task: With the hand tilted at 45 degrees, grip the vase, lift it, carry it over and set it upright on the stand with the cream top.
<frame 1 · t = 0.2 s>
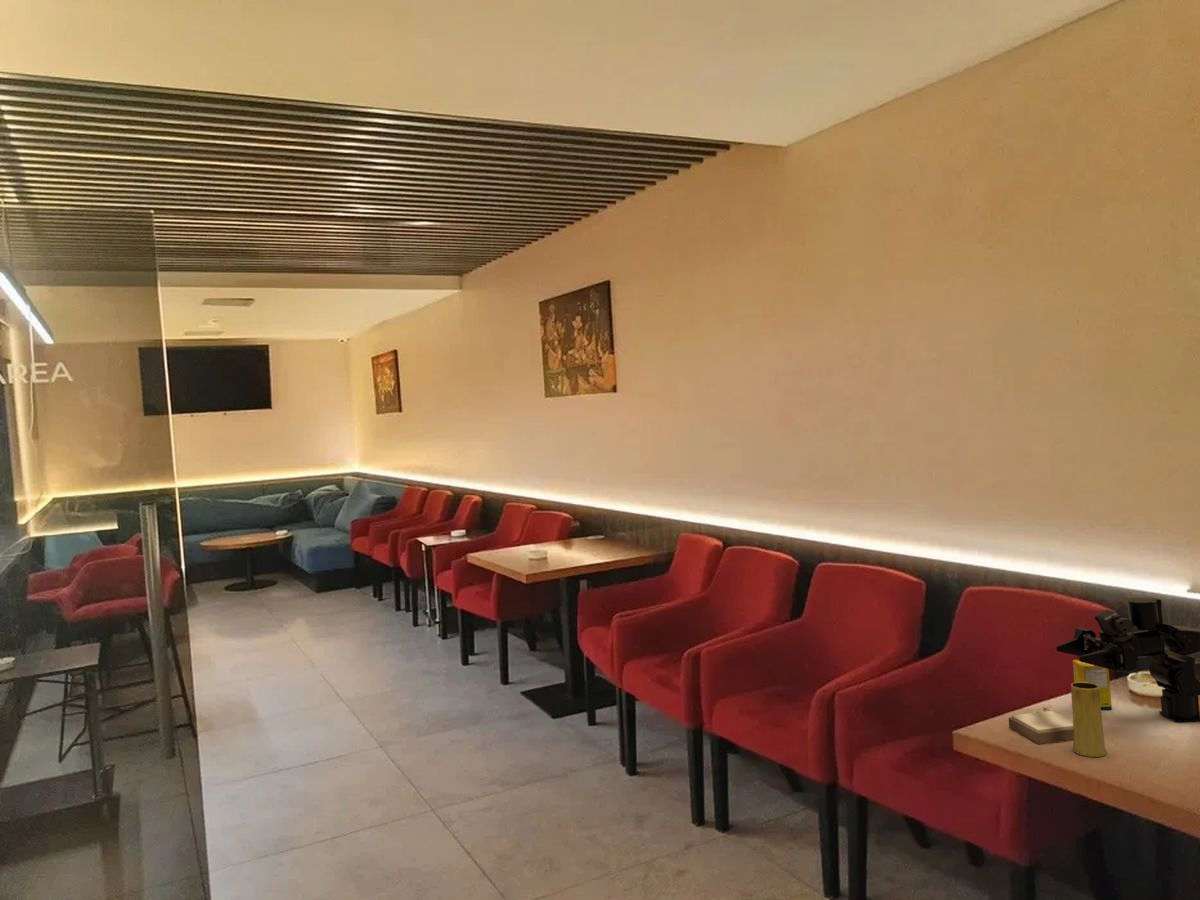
hand: (1067, 653, 194), 17 cm above the table, tool horizontal, fingers open, 9 cm apart
vase: (1089, 753, 180), on the table
stand: (1046, 733, 192), on the table
supplement box: (1093, 707, 206), on the table
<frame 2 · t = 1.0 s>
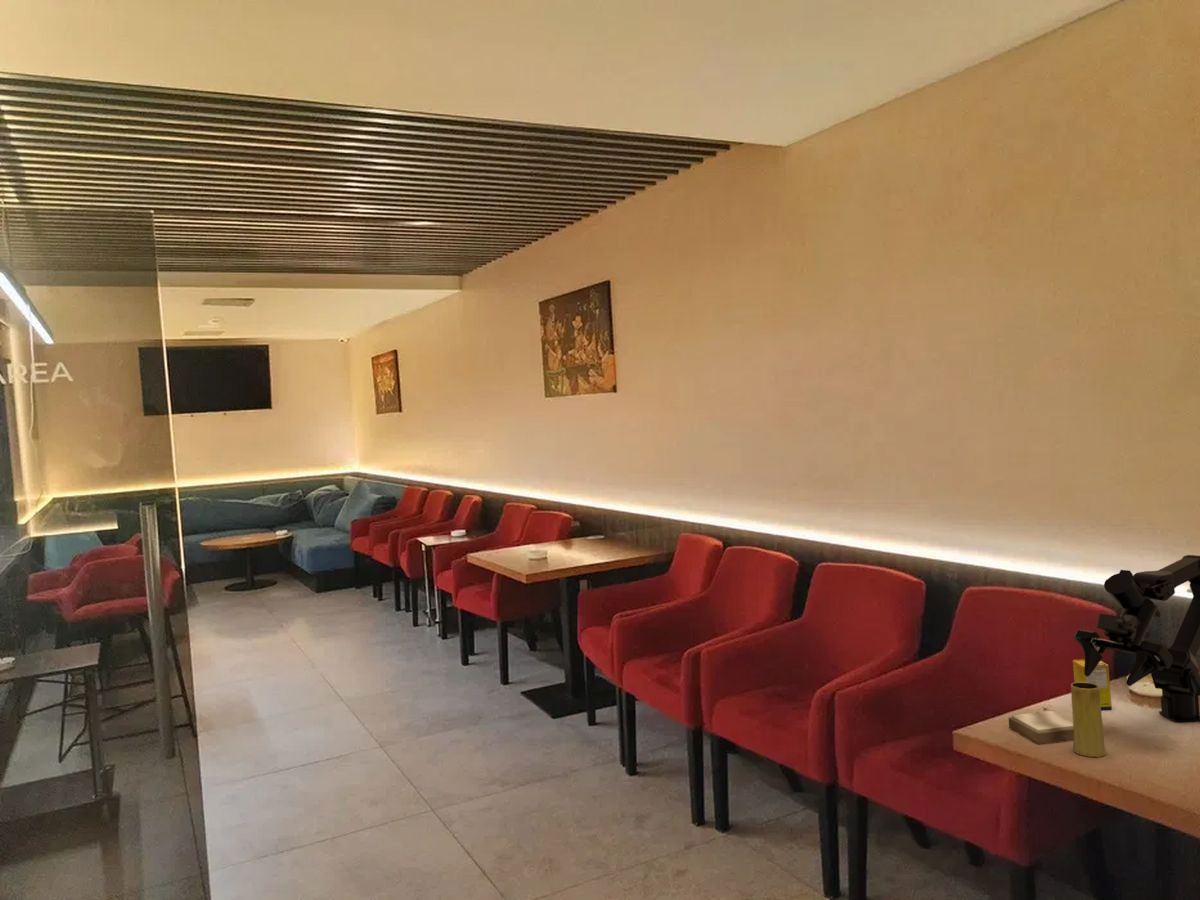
hand: (1106, 680, 183), 14 cm above the table, tool tilted 45°, fingers open, 9 cm apart
nothing on the table moved.
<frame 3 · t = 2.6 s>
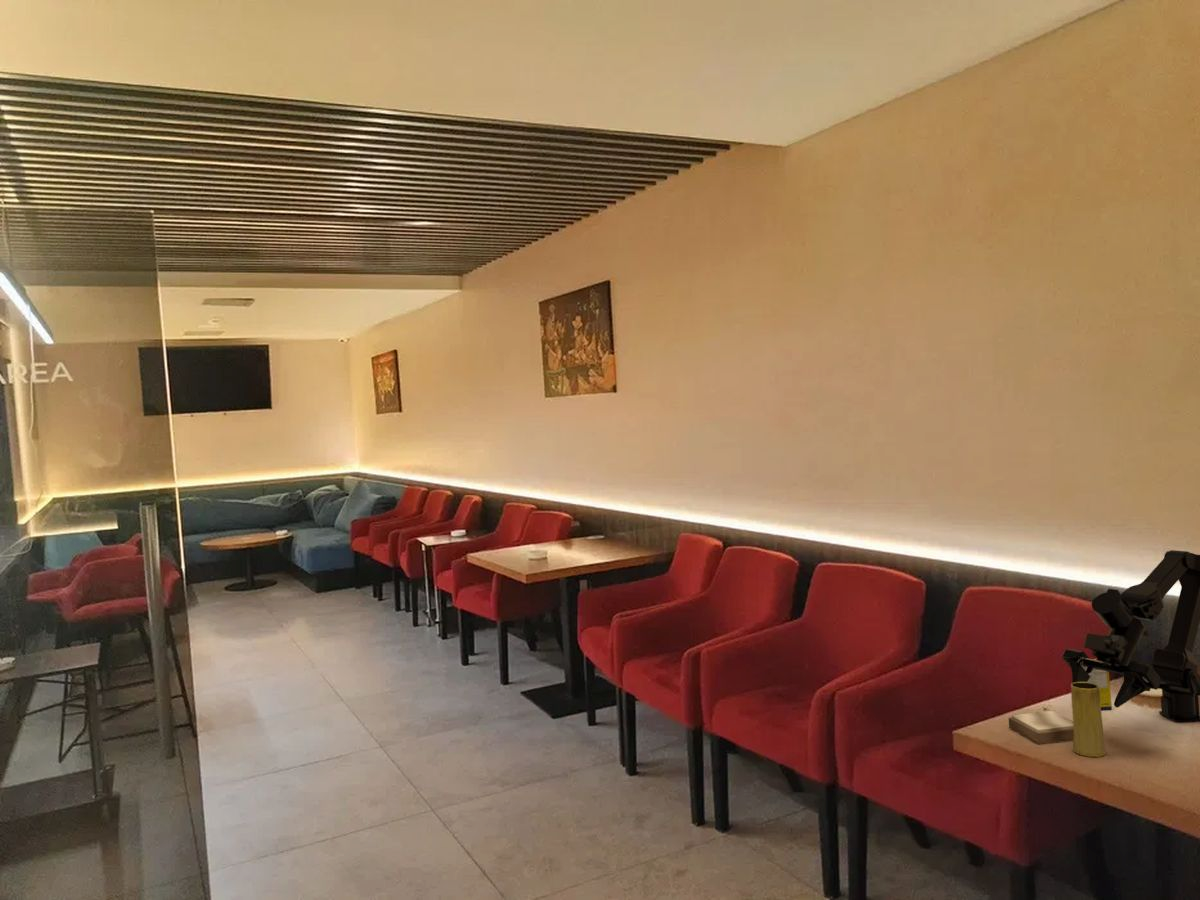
hand: (1094, 701, 181), 10 cm above the table, tool tilted 45°, fingers open, 9 cm apart
nothing on the table moved.
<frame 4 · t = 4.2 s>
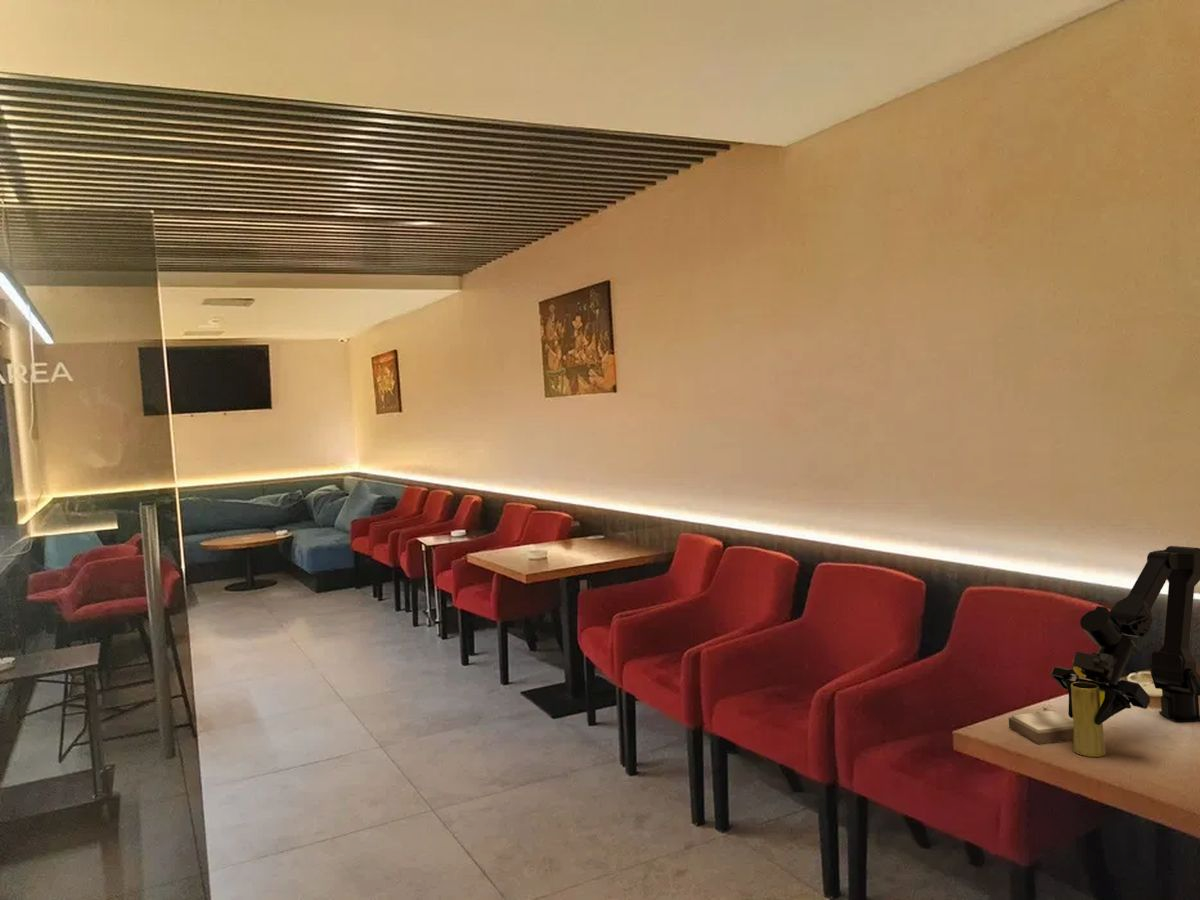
hand: (1083, 720, 179), 7 cm above the table, tool tilted 45°, fingers closed on vase, 5 cm apart
vase: (1089, 752, 180), on the table, touching gripper
everything else where it was.
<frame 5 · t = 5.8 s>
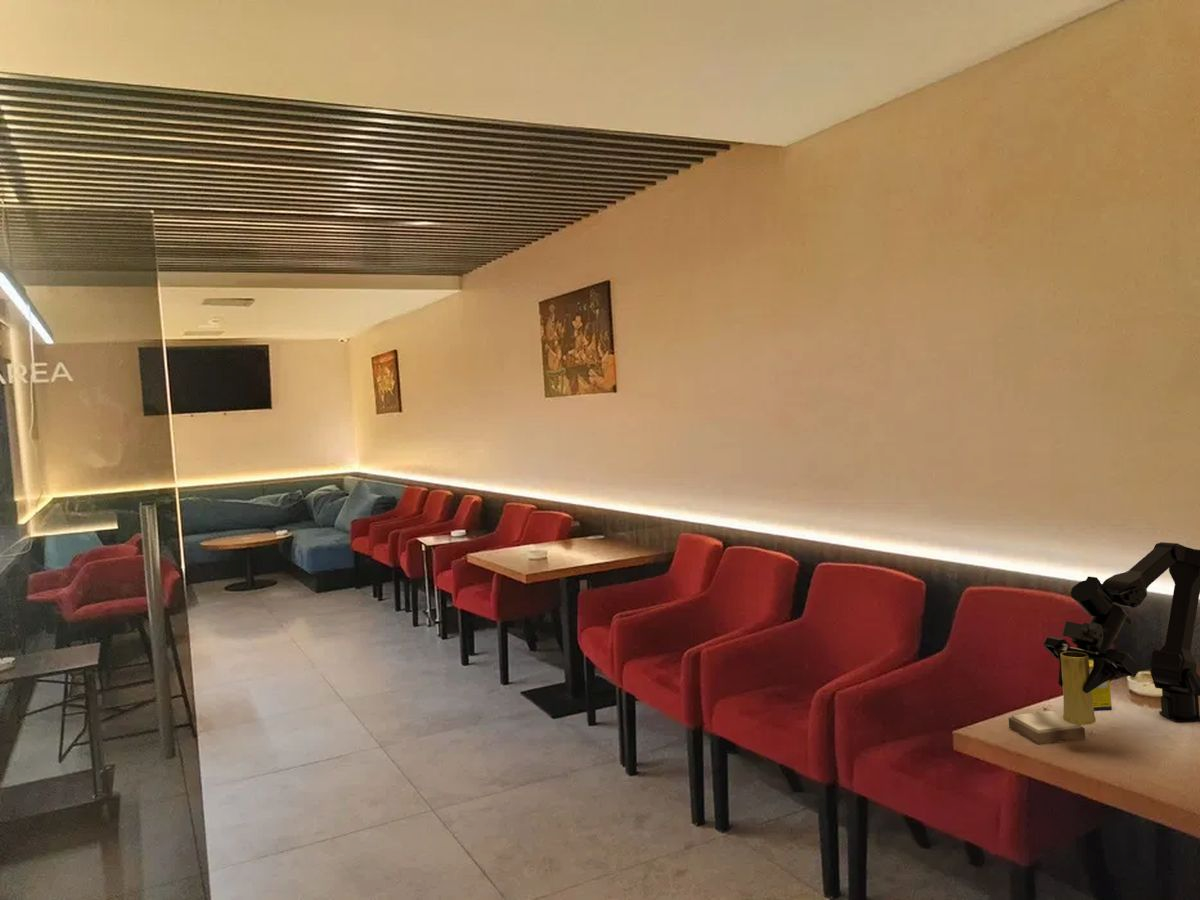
hand: (1072, 688, 181), 13 cm above the table, tool tilted 45°, fingers closed on vase, 5 cm apart
vase: (1079, 721, 182), point 6 cm above the table, touching gripper
everything else where it was.
when the fingers open (11 cm above the table, at t = 7.5 s): vase drops 1 cm, resting on stand.
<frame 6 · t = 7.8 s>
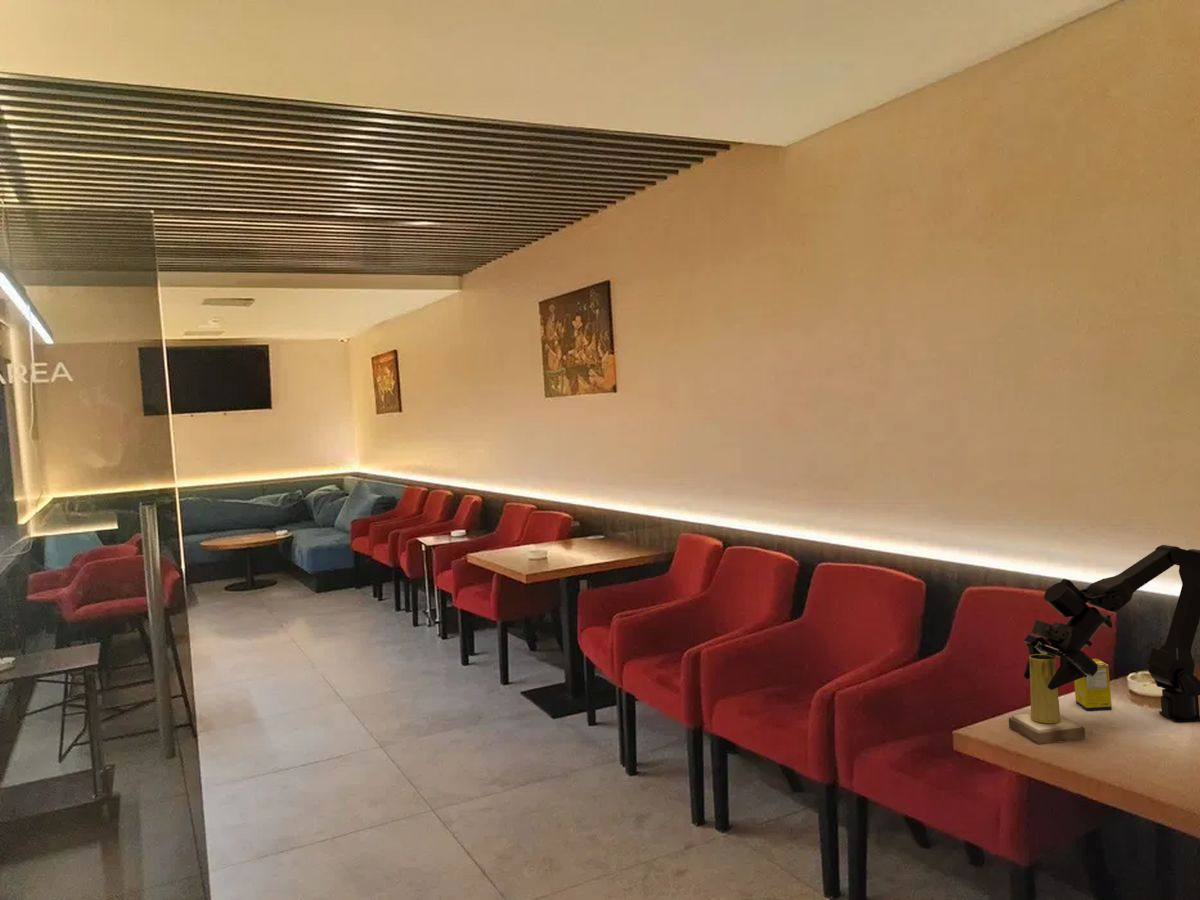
hand: (1037, 683, 191), 12 cm above the table, tool tilted 45°, fingers open, 8 cm apart
vase: (1045, 720, 192), point 3 cm above the table, touching stand
everything else where it was.
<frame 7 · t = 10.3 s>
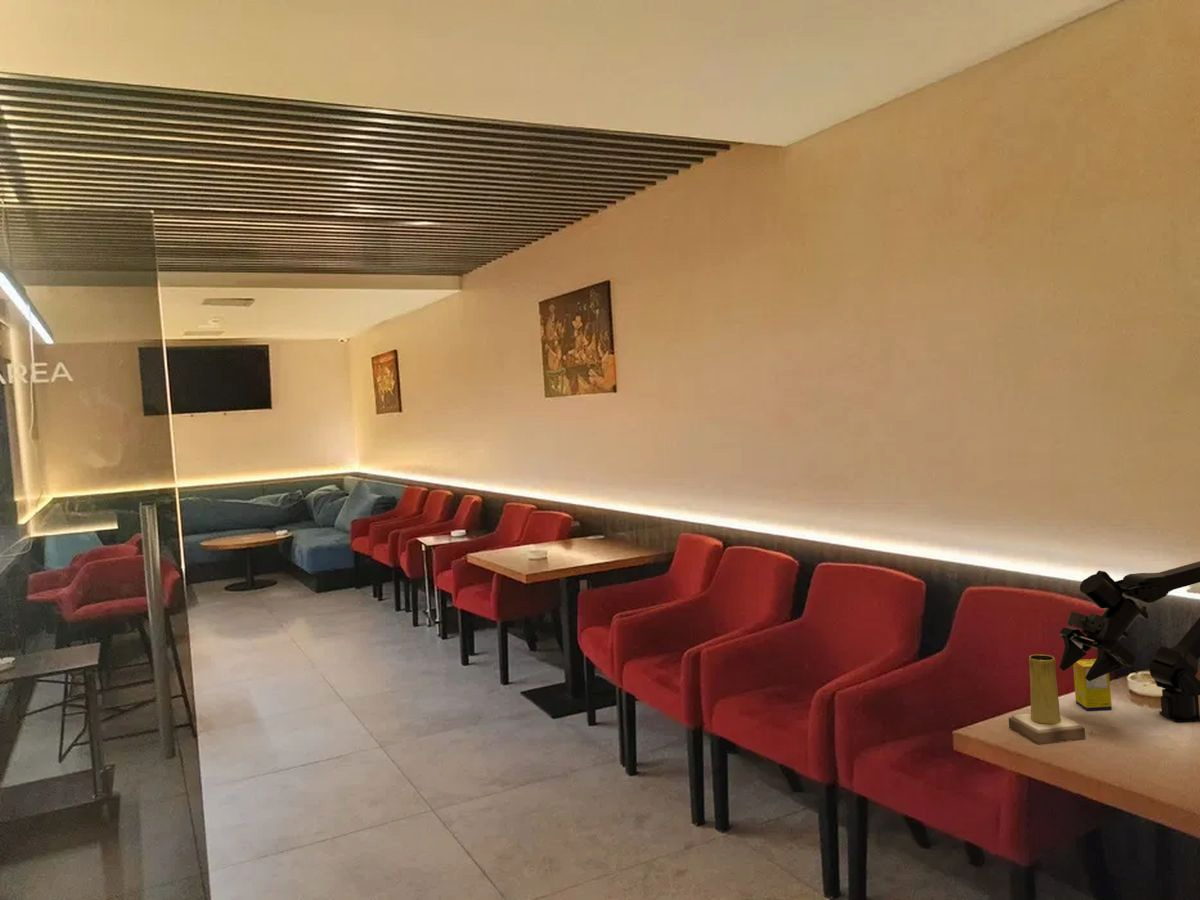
hand: (1073, 674, 192), 13 cm above the table, tool tilted 45°, fingers open, 9 cm apart
nothing on the table moved.
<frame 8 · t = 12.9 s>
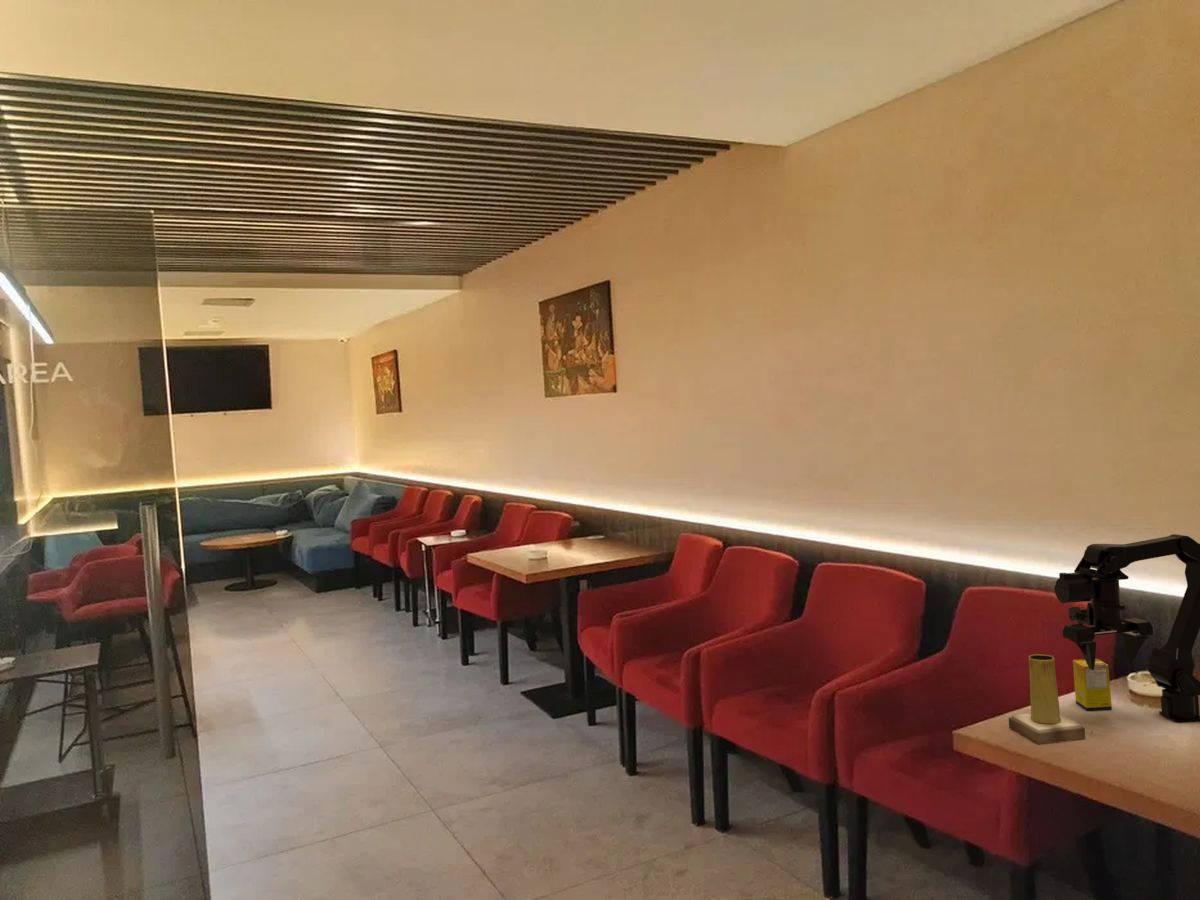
hand: (1110, 667, 194), 13 cm above the table, tool pointing down, fingers open, 9 cm apart
nothing on the table moved.
at the end: vase 0.1 cm off-centre on the stand, point 2.8 cm above the stand's base; vase tilted 0°; the gripper is holding nothing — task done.
